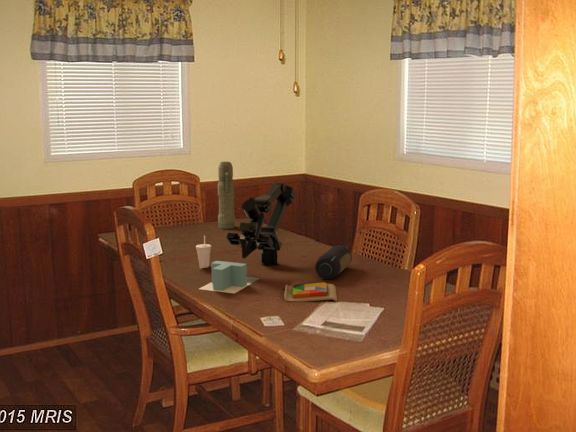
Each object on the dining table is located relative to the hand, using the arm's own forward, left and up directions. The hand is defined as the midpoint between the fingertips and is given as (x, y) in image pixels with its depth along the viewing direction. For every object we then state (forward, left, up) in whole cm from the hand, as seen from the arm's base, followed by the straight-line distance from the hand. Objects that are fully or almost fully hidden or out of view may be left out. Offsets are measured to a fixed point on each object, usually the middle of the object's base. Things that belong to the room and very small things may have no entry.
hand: (243, 258), depth 284 cm
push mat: (+7, +9, -8) cm, 14 cm away
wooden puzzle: (-19, +29, -9) cm, 36 cm away
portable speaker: (-37, +3, -8) cm, 38 cm away
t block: (+10, +12, -7) cm, 17 cm away
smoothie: (+13, -19, -8) cm, 25 cm away
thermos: (-11, -100, -8) cm, 101 cm away
